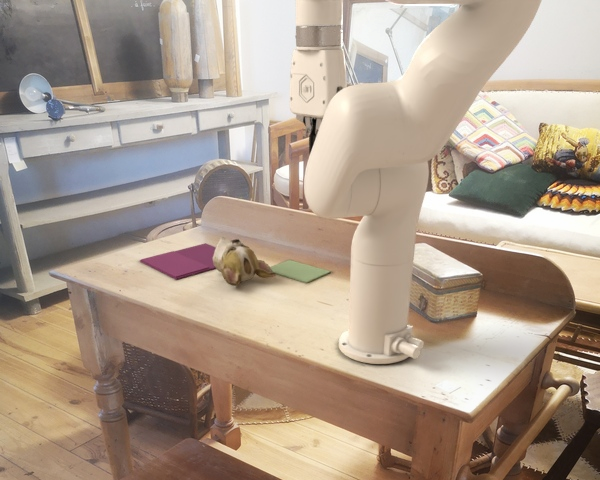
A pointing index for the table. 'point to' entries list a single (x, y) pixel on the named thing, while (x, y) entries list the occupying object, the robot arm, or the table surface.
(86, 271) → the table surface
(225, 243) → the ceramic sculpture
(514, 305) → the table surface
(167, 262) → the plum cloth
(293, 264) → the sage cloth
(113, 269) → the table surface
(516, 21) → the robot arm
